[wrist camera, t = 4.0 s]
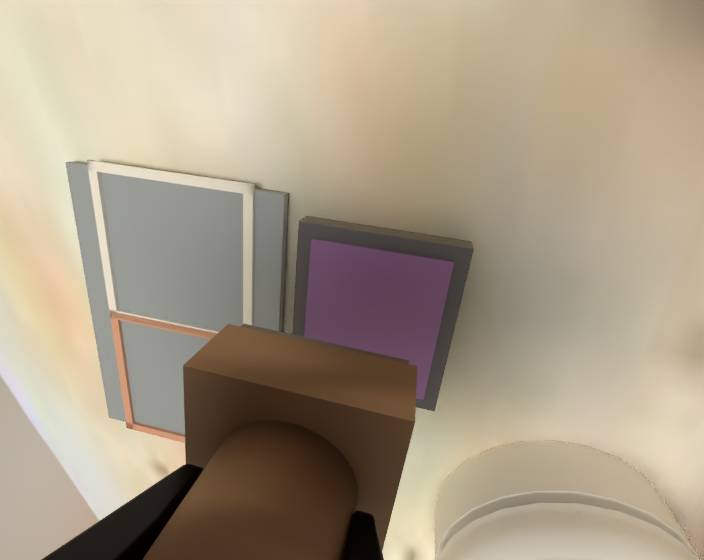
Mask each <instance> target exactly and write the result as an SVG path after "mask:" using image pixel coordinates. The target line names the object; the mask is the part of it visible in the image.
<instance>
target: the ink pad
mask: <svg viewBox="0 0 704 560" xmlns="http://www.w3.org/2000/svg"><path fill="white" fill-rule="evenodd" d="M472 253H473V246H472V243H471V242H470V241H463V240H457V239H450V238H444V237H438V236H431V235H425V234H418V233H412V232H406V231H399V230H393V229H386V228H380V227H373V226H367V225H361V224H354V223H348V222H341V221H335V220H329V219H322V218H316V217H309V216H306V217H305V218H303V219H302V220H300V221H299V230H298V248H297V265H296V283H295V301H294V318H293V335H298V336H302V337H306V338H311V339H315V340H320V341H324V342H329V343H333V344H338V345H342V346H347V347H351V348H356V349H360V350H365V351H369V352H374V353H378V354H383V355H387V356H392V357H396V358H401V359H405V360H409V364H410V365H415V366H417V387H416V407H418V408H423V409H427V410H432V411H434V410H435V406H436V402H437V398H438V394H439V390H440V386H441V381H442V377H443V373H444V369H445V365H446V361H447V357H448V352H449V348H450V344H451V340H452V336H453V332H454V328H455V323H456V319H457V315H458V311H459V307H460V303H461V299H462V294H463V290H464V286H465V282H466V278H467V274H468V270H469V266H470V261H471V257H472Z"/></svg>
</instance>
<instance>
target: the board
mask: <svg viewBox="0 0 704 560" xmlns="http://www.w3.org/2000/svg"><path fill="white" fill-rule="evenodd" d="M66 168H67V174H68V180H69V185H70V191H71V197H72V203H73V209H74V215H75V221H76V226H77V232H78V238H79V244H80V250H81V256H82V261H83V267H84V273H85V279H86V285H87V291H88V297H89V302H90V308H91V314H92V320H93V326H94V332H95V338H96V343H97V349H98V355H99V361H100V367H101V373H102V378H103V384H104V390H105V396H106V402H107V408H108V414H109V418H113V419H117V420H121V421H125V422H126V425H127V428H129V429H133V430H137V431H141V432H145V433H149V434H152V435H156V436H160V437H164V438H168V439H172V440H176V441H180V442H184V443H185V416H184V384H183V365H184V364H185V363H186V362H187V361H188V360H189V359H191V358H192V357H193V356H194V355H195V354H196V353H197V352H198V351H199V350H200V349H201V348H202V347H204V346H205V345H206V344H207V343H208V342H209V341H210V340H211V339H212V338H213V337H214V336H215V335H217V334H218V333H219V332H220V331H221V330H222V329H223V328H224V327H225V326H226V325H227V324H232V325H236V326H242V325H243V324H248V325H253V326H257V327H262V328H266V329H271V330H275V331H280V332H282V329H283V307H284V284H285V262H286V240H287V218H288V195H289V193H285V192H278V191H272V190H265V189H258V188H255V184H251V183H244V182H237V181H230V180H223V179H217V178H210V177H203V176H196V175H189V174H182V173H176V172H169V171H162V170H155V169H148V168H141V167H135V166H128V165H121V164H114V163H107V162H101V161H94V160H87V163H82V162H76V161H75V162H66Z"/></svg>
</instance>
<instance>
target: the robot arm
mask: <svg viewBox="0 0 704 560" xmlns="http://www.w3.org/2000/svg"><path fill="white" fill-rule="evenodd" d="M203 470H204V469H203V468H202V467H199V466H196V465H192V464H186V465H183V466H182V467H180V468H179V469H177V470H176V471H174V472H173V473H171V474H170V475H168V476H167V477H165V478H164V479H162V480H161V481H159V482H158V483H156V484H154V485H153V486H151V487H150V488H148V489H147V490H145V491H144V492H142V493H141V494H139V495H138V496H136V497H135V498H133V499H132V500H130V501H129V502H127V503H126V504H124V505H123V506H121V507H120V508H118V509H117V510H115V511H114V512H112V513H111V514H109V515H108V516H106V517H105V518H103V519H102V520H100V521H99V522H97V523H96V524H94V525H93V526H91V527H90V528H88V529H87V530H85V531H84V532H82V533H81V534H79V535H78V536H76V537H75V538H73V539H72V540H70V541H69V542H67V543H66V544H65V545H63V546H61V547H60V548H58V549H57V550H55V551H54V552H52V553H51V554H49V555H48V556H46V557H45V558H43V559H42V560H142V559H143V558H144V556H145V555H146V553H147V552H148V551H149V549H150V548H151V546H152V545H153V543H154V542H155V540H156V539H157V537H158V536H159V534H160V533H161V531H162V530H163V529H164V527H165V526H166V524H167V523H168V521H169V520H170V518H171V517H172V515H173V514H174V512H175V511H176V509H177V508H178V506H179V505H180V504H181V502H182V501H183V499H184V498H185V496H186V495H187V493H188V492H189V490H190V489H191V487H192V486H193V484H194V483H195V481H196V480H197V479H198V477H199V476H200V474H201V473H202V471H203ZM345 560H384V558H383V554H382V549H381V545H380V540H379V536H378V531H377V526H376V522H375V518H374V516H373V515H372V514H370V513H367V512H363V511H359V510H357V511H355V513H354V517H353V522H352V527H351V532H350V537H349V542H348V547H347V552H346V557H345Z"/></svg>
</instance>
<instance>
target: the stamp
mask: <svg viewBox="0 0 704 560" xmlns="http://www.w3.org/2000/svg"><path fill="white" fill-rule="evenodd" d="M183 384H184V416H185V448H186V464H192V465H196V466H199V467H202V468H203V469H204V470H203V471H202V473H201V474H200V476H199V477H198V479H197V480H196V481H195V483H194V484H193V486H192V487H191V489H190V490H189V492H188V493H187V495H186V496H185V498H184V499H183V501H182V502H181V504H180V505H179V506H178V508H177V509H176V511H175V512H174V514H173V515H172V517H171V518H170V520H169V521H168V523H167V524H166V526H165V527H164V529H163V530H162V531H161V533H160V534H159V536H158V537H157V539H156V540H155V542H154V543H153V545H152V546H151V548H150V549H149V551H148V552H147V553H146V555H145V556H144V558H143V559H142V560H345V557H346V552H347V547H348V542H349V537H350V532H351V527H352V522H353V517H354V513H355V511H357V510H359V511H363V512H367V513H370V514H372V515H373V516H374V518H375V522H376V526H377V531H378V536H379V540H380V545H381V549H383V545H384V541H385V537H386V533H387V529H388V525H389V522H390V518H391V514H392V510H393V506H394V502H395V498H396V494H397V490H398V486H399V482H400V478H401V474H402V470H403V466H404V463H405V459H406V455H407V451H408V447H409V443H410V439H411V435H412V431H413V427H414V423H415V408H416V387H417V366H415V365H410V364H409V360H405V359H401V358H396V357H392V356H387V355H383V354H378V353H374V352H369V351H365V350H360V349H356V348H351V347H347V346H342V345H338V344H333V343H329V342H324V341H320V340H315V339H311V338H306V337H302V336H298V335H293V334H289V333H284V332H280V331H275V330H271V329H266V328H262V327H257V326H253V325H248V324H243V325H242V326H236V325H232V324H227V325H226V326H225V327H224V328H223V329H222V330H221V331H220V332H219V333H218V334H217V335H215V336H214V337H213V338H212V339H211V340H210V341H209V342H208V343H207V344H206V345H205V346H204V347H202V348H201V349H200V350H199V351H198V352H197V353H196V354H195V355H194V356H193V357H192V358H191V359H189V360H188V361H187V362H186V363H185V364H184V365H183Z"/></svg>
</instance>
